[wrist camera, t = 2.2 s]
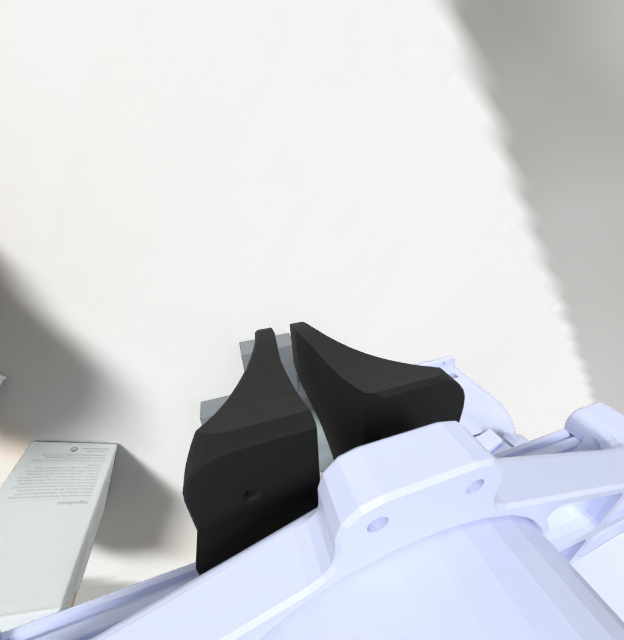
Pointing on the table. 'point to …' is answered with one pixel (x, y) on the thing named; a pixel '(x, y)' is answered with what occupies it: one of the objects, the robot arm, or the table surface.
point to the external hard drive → (2, 379)
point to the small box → (50, 526)
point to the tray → (287, 360)
